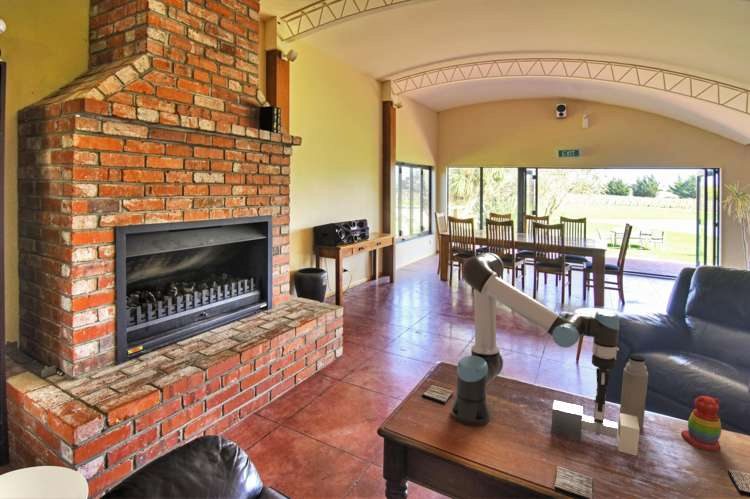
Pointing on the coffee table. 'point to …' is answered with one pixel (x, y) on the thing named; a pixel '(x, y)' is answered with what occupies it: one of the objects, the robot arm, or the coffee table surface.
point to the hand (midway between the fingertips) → (598, 416)
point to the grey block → (567, 419)
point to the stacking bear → (704, 424)
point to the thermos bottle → (634, 388)
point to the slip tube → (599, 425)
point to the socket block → (628, 434)
